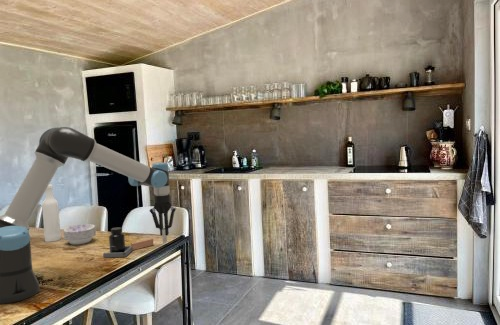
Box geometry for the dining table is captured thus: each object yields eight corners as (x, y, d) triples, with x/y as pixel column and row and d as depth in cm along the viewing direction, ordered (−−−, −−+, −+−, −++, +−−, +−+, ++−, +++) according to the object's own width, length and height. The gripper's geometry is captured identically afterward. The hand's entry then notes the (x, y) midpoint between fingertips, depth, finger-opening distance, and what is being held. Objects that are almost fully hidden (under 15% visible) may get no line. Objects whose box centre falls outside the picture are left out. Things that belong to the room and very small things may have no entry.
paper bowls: (69, 248, 192) (67, 232, 191) (61, 242, 204) (59, 227, 203) (100, 242, 201) (99, 227, 201) (91, 236, 213) (89, 222, 213)
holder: (142, 256, 174) (142, 249, 173) (103, 257, 174) (102, 250, 174) (154, 244, 192) (153, 238, 192) (118, 245, 193) (118, 239, 193)
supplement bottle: (109, 257, 175) (107, 230, 174) (110, 252, 182) (108, 227, 181) (125, 255, 177) (123, 229, 176) (125, 250, 184) (124, 226, 183)
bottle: (54, 242, 204) (49, 185, 202) (41, 242, 206) (36, 186, 204) (64, 238, 212) (60, 183, 210) (51, 237, 214) (47, 183, 211)
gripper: (177, 192, 192) (179, 239, 194) (151, 193, 193) (153, 240, 195) (173, 195, 185) (176, 243, 187) (146, 196, 185) (149, 244, 187)
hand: (164, 241), depth 191 cm, fingers closed
